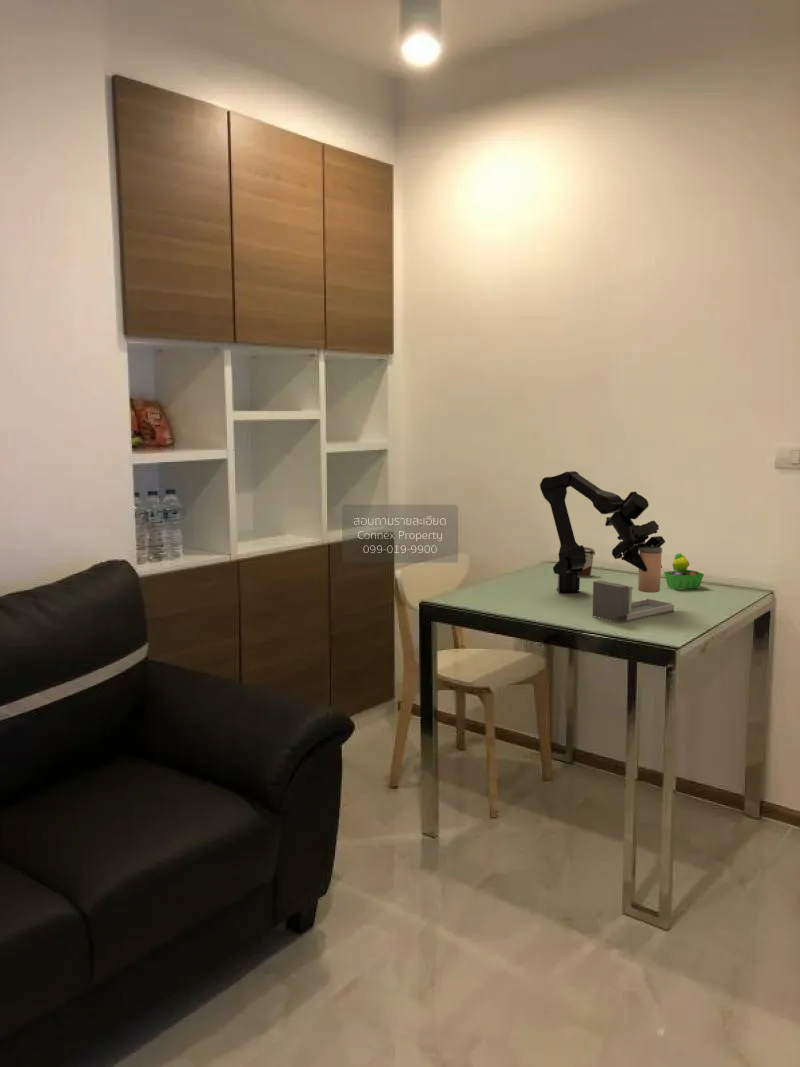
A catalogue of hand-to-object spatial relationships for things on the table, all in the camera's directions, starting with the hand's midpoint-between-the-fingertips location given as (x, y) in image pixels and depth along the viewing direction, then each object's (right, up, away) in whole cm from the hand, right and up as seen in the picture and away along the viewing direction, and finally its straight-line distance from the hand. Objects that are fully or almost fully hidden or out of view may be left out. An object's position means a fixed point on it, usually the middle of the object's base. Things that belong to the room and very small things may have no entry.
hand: (653, 569), depth 261 cm
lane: (-6, -13, -1) cm, 15 cm away
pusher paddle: (-11, -13, -5) cm, 18 cm away
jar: (-1, -6, +2) cm, 7 cm away
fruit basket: (+20, -8, +35) cm, 41 cm away
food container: (-11, -4, +58) cm, 59 cm away
